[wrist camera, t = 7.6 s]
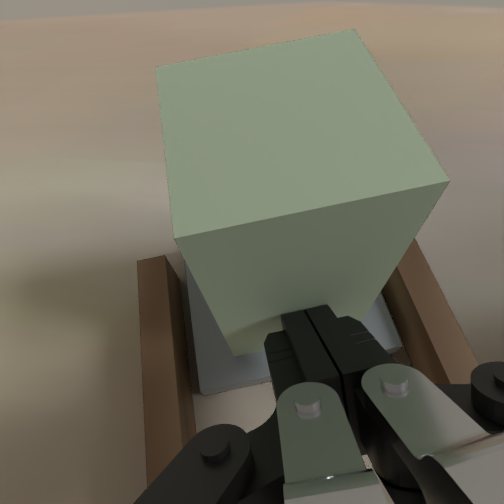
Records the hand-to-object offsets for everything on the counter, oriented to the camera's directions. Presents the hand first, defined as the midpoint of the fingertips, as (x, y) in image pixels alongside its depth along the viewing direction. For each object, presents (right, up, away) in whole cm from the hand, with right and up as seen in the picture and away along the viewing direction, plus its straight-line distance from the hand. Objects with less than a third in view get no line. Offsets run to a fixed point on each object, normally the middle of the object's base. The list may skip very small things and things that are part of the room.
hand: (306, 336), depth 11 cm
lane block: (0, +1, +5) cm, 5 cm away
